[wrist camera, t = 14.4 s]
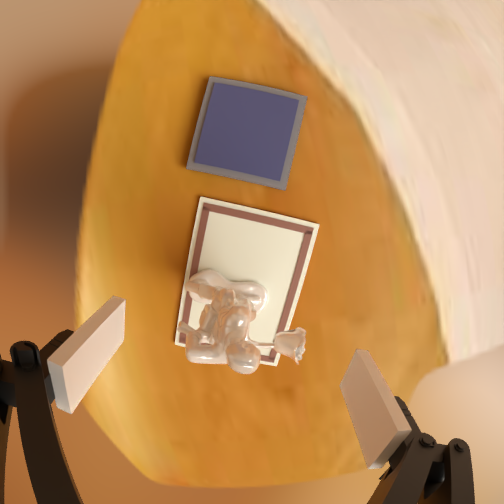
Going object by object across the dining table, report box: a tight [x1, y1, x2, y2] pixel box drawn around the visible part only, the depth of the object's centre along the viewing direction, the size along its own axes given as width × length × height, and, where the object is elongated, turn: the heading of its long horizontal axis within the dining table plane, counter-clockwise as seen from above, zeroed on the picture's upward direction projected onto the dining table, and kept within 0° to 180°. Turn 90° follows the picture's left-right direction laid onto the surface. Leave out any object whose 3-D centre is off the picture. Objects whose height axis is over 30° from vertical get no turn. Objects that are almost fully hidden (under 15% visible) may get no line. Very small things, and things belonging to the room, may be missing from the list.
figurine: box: [177, 269, 306, 374], centre depth 20 cm, size 5×9×12 cm, turn 87°
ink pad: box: [186, 76, 307, 190], centre depth 22 cm, size 8×8×1 cm
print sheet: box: [175, 197, 319, 366], centre depth 26 cm, size 14×10×1 cm
